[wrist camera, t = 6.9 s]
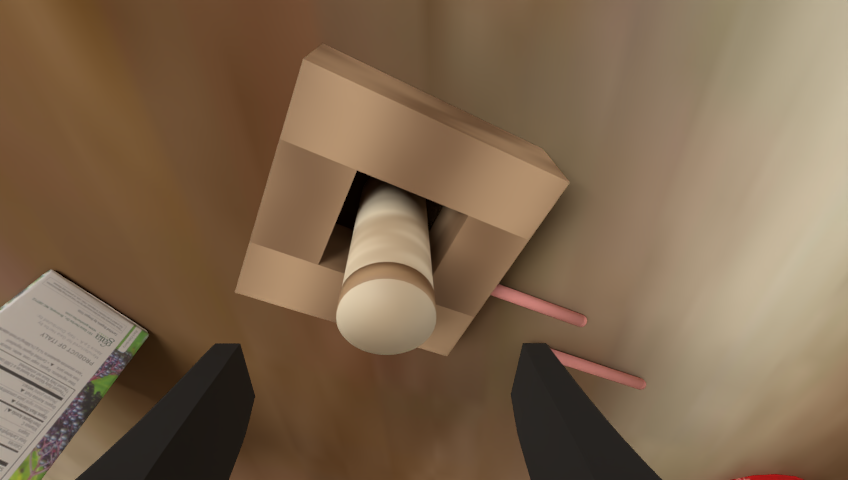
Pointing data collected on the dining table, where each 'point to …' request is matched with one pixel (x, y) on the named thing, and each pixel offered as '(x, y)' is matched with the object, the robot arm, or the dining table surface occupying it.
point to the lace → (576, 320)
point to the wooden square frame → (400, 166)
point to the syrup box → (55, 369)
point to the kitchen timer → (769, 477)
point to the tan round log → (388, 273)
